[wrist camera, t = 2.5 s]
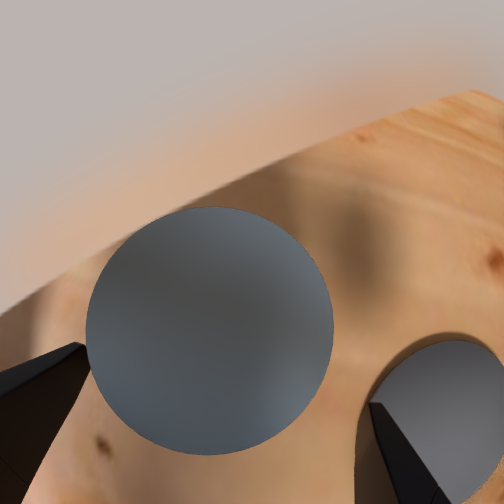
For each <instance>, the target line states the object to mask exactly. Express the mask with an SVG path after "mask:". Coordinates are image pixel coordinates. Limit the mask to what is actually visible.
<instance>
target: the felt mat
mask: <svg viewBox="0 0 504 504" xmlns="http://www.w3.org/2000/svg"><path fill="white" fill-rule="evenodd" d="M370 401H372V402H381V403H382V404H383V405H384V406H385V408H386V409H387V411H388V412H389V414H390V415H391V416H392V418H393V419H394V421H395V422H396V424H397V425H398V426H399V428H400V429H401V431H402V432H403V434H404V435H405V436H406V438H407V439H408V441H409V442H410V444H411V445H412V447H413V448H414V449H415V451H416V452H417V454H418V455H419V457H420V458H421V460H422V461H423V462H424V464H425V465H426V467H427V468H428V470H429V471H430V473H431V474H432V476H433V477H434V479H435V480H436V482H437V483H438V486H440V487H441V489H442V490H443V492H444V493H445V495H446V496H447V497H448V499H449V500H450V502H451V503H452V504H460V503H462V502H463V501H465V500H466V499H468V498H469V497H470V496H471V495H473V494H474V493H475V492H476V491H477V490H478V489H479V488H480V487H481V486H482V485H483V484H484V483H485V482H486V481H487V479H488V478H489V477H490V476H491V474H492V473H493V471H494V470H495V468H496V467H497V465H498V464H499V462H500V460H501V458H502V456H503V454H504V367H503V365H502V364H501V363H500V361H499V360H498V359H497V358H496V357H495V356H494V355H493V354H492V353H491V352H490V351H488V350H487V349H485V348H484V347H482V346H480V345H478V344H475V343H472V342H468V341H460V340H453V341H445V342H440V343H436V344H433V345H430V346H428V347H425V348H422V349H421V350H419V351H417V352H415V353H413V354H411V355H410V356H409V357H407V358H406V359H404V360H403V361H402V362H400V363H399V364H398V365H397V366H396V367H395V368H393V370H392V371H391V372H390V373H389V374H388V375H387V376H386V377H385V378H384V380H383V381H382V382H381V383H380V385H379V386H378V387H377V389H376V390H375V392H374V394H373V395H372V397H371V399H370V400H369V402H370ZM356 444H357V438H356ZM355 455H356V446H355Z"/></svg>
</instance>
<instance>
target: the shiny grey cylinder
mask: <svg viewBox="0 0 504 504" xmlns="http://www.w3.org/2000/svg"><path fill="white" fill-rule="evenodd" d="M333 334H334V322H333V310H332V305H331V301H330V296H329V292H328V290H327V287H326V284H325V282H324V279H323V276H322V275H321V273H320V271H319V269H318V267H317V266H316V264H315V262H314V261H313V259H312V258H311V257H310V255H309V254H308V253H307V251H306V250H305V249H304V248H303V247H302V245H301V244H300V243H299V242H298V241H297V240H296V239H295V238H294V237H292V236H291V235H290V234H289V233H287V232H286V231H285V230H284V229H282V228H281V227H279V226H278V225H276V224H274V223H272V222H271V221H269V220H267V219H265V218H263V217H260V216H258V215H256V214H253V213H250V212H246V211H243V210H239V209H233V208H226V207H200V208H192V209H187V210H182V211H178V212H175V213H172V214H169V215H166V216H164V217H162V218H160V219H158V220H155V221H153V222H152V223H150V224H148V225H147V226H145V227H143V228H142V229H140V230H139V231H138V232H136V233H135V234H134V235H133V236H131V237H130V238H129V239H128V240H127V241H126V242H125V243H124V244H123V245H122V246H121V247H120V248H119V249H118V250H117V251H116V252H115V254H114V255H113V256H112V257H111V258H110V260H109V261H108V263H107V264H106V266H105V268H104V269H103V271H102V272H101V274H100V276H99V278H98V281H97V283H96V285H95V287H94V290H93V293H92V296H91V299H90V303H89V307H88V312H87V320H86V347H87V354H88V360H89V363H90V367H91V371H92V374H93V376H94V379H95V381H96V384H97V386H98V388H99V390H100V392H101V393H102V395H103V397H104V398H105V400H106V402H107V403H108V404H109V406H110V407H111V408H112V410H113V411H114V412H115V413H116V415H117V416H118V417H119V418H120V419H121V420H122V421H123V422H124V423H125V424H127V425H128V426H129V427H130V428H131V429H133V430H134V431H135V432H137V433H138V434H139V435H141V436H143V437H144V438H146V439H148V440H150V441H152V442H153V443H155V444H158V445H160V446H163V447H165V448H168V449H171V450H174V451H178V452H183V453H187V454H196V455H220V454H228V453H233V452H237V451H242V450H245V449H247V448H250V447H253V446H256V445H258V444H260V443H262V442H264V441H266V440H268V439H270V438H271V437H273V436H275V435H277V434H278V433H279V432H281V431H282V430H283V429H285V428H286V427H287V426H288V425H290V424H291V423H292V422H293V421H294V420H295V419H296V418H297V417H298V416H299V415H300V414H301V413H302V412H303V411H304V409H305V408H306V407H307V405H308V404H309V403H310V401H311V400H312V399H313V397H314V396H315V394H316V392H317V390H318V388H319V386H320V385H321V383H322V381H323V379H324V376H325V373H326V370H327V367H328V364H329V361H330V356H331V351H332V346H333Z"/></svg>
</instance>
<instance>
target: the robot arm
mask: <svg viewBox="0 0 504 504" xmlns="http://www.w3.org/2000/svg"><path fill="white" fill-rule="evenodd" d="M90 370H91V367H90V363H89V360H88V354H87V347H86V346H85V345H84V344H81V343H79V342H73V343H70V344H68V345H66V346H63V347H61V348H58V349H56V350H54V351H51V352H49V353H46V354H44V355H41V356H39V357H37V358H34V359H32V360H29V361H27V362H24V363H22V364H20V365H17V366H15V367H12V368H10V369H7V370H5V371H2V372H0V504H21V503H22V501H23V499H24V497H25V495H26V492H27V490H28V488H29V486H30V484H31V482H32V480H33V478H34V476H35V474H36V472H37V470H38V468H39V466H40V465H41V463H42V461H43V459H44V457H45V455H46V453H47V451H48V450H49V448H50V446H51V444H52V442H53V440H54V439H55V437H56V435H57V433H58V431H59V430H60V428H61V426H62V424H63V423H64V421H65V419H66V417H67V416H68V414H69V412H70V411H71V409H72V407H73V405H74V403H75V402H76V400H77V397H78V395H79V393H80V391H81V389H82V387H83V384H84V382H85V380H86V378H87V376H88V374H89V372H90ZM354 491H355V504H452V503H451V502H450V500H449V499H448V497H447V496H446V495H445V493H444V492H443V490H442V489H441V487H440V486H438V483H437V482H436V480H435V479H434V477H433V476H432V474H431V473H430V471H429V470H428V468H427V467H426V465H425V464H424V462H423V461H422V460H421V458H420V457H419V455H418V454H417V452H416V451H415V449H414V448H413V447H412V445H411V444H410V442H409V441H408V439H407V438H406V436H405V435H404V434H403V432H402V431H401V429H400V428H399V426H398V425H397V424H396V422H395V421H394V419H393V418H392V416H391V415H390V414H389V412H388V411H387V409H386V408H385V406H384V405H383V404H382V403H381V402H372V401H370V402H368V403H367V404H366V405H365V408H364V410H363V412H362V414H361V416H360V418H359V421H358V431H357V444H356V455H355V466H354Z"/></svg>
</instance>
